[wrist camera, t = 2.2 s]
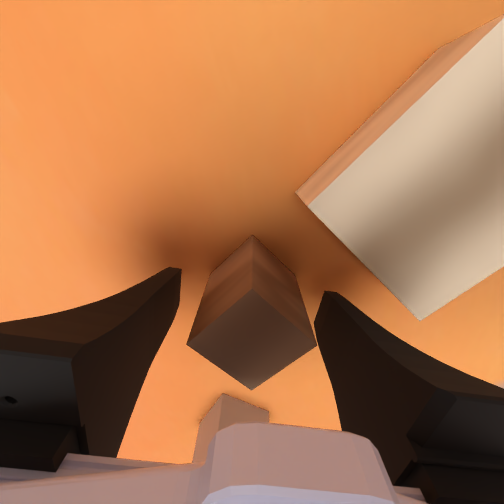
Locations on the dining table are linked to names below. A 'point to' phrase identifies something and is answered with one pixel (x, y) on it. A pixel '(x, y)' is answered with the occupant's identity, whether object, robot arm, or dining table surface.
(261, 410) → the grey block
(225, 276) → the walnut block
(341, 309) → the robot arm
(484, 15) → the dining table surface
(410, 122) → the birch block
